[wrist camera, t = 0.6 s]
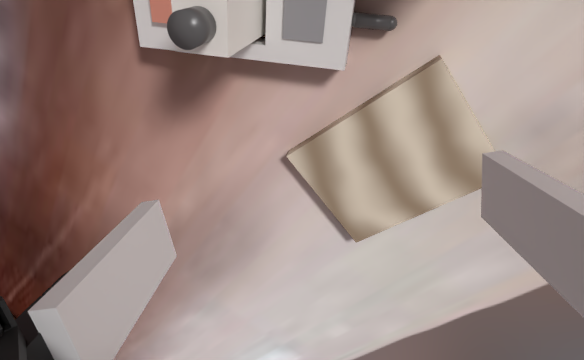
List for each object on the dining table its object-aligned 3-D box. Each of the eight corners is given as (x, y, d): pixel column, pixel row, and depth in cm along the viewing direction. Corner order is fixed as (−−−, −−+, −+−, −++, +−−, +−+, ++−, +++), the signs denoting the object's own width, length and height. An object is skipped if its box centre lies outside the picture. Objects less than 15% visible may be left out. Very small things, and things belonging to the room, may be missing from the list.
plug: (268, -15, 33) (212, -2, 22) (267, 32, 35) (215, 65, 24) (227, -18, 33) (151, -8, 22) (228, 28, 36) (159, 58, 24)
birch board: (439, 55, 33) (442, 58, 32) (504, 168, 37) (509, 176, 36) (289, 150, 41) (286, 156, 40) (356, 234, 45) (356, 242, 44)
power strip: (406, -29, 30) (410, -28, 27) (387, 67, 34) (388, 77, 31) (144, -50, 33) (121, -51, 30) (155, 40, 38) (136, 47, 35)
